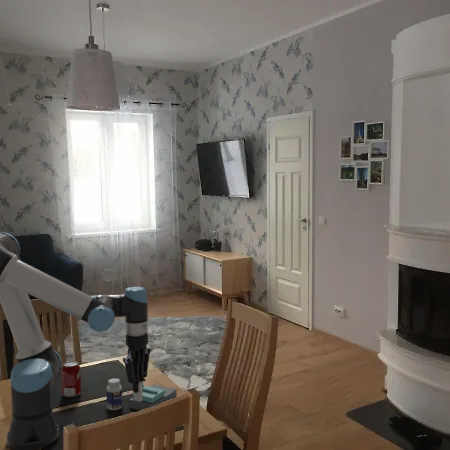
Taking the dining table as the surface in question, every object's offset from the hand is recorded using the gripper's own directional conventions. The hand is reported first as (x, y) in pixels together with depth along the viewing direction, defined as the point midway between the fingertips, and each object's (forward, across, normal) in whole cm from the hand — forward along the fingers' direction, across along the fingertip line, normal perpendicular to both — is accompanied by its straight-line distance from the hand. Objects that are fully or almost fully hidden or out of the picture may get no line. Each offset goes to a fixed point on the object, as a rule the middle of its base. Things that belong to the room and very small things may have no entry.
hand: (138, 400), depth 175 cm
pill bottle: (+5, 0, +10) cm, 11 cm away
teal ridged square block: (+1, +6, 0) cm, 7 cm away
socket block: (+5, +9, 0) cm, 10 cm away
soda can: (+5, +1, +31) cm, 32 cm away
